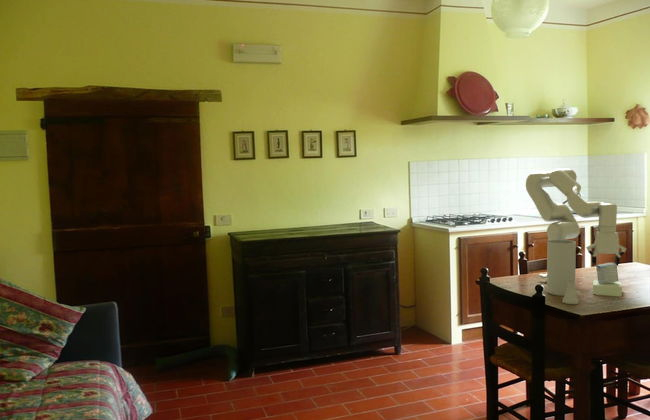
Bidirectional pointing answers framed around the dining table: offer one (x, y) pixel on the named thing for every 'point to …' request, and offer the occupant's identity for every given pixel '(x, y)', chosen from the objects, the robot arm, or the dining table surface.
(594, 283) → the sage block
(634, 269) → the dining table surface
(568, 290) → the flask
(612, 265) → the medicine box
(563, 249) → the cylinder vase
